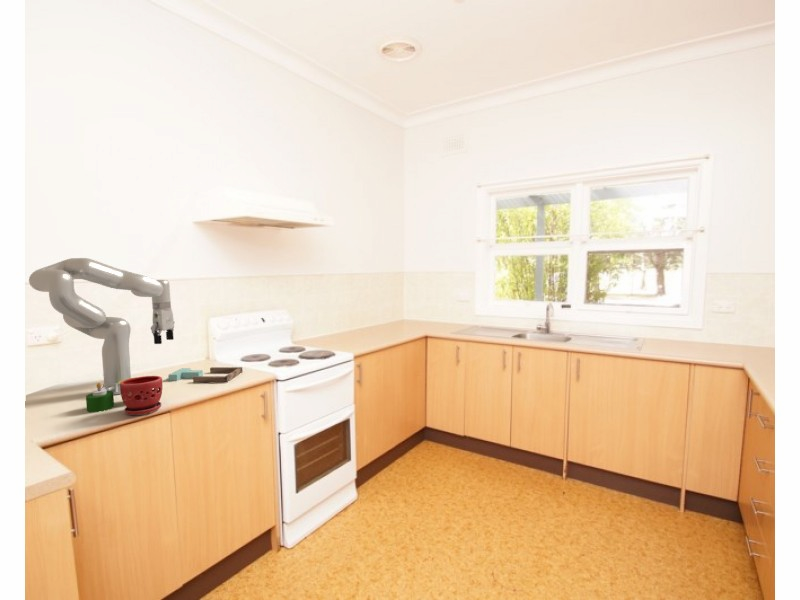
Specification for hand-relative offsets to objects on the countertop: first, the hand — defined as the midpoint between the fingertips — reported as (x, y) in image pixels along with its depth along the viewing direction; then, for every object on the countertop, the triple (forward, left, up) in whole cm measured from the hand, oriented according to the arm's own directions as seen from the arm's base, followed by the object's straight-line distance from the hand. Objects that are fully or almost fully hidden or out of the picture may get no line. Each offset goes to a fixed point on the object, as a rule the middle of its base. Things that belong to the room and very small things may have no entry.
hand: (164, 341), depth 194 cm
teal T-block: (0, -11, -17) cm, 20 cm away
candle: (-42, 0, -18) cm, 46 cm away
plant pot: (-45, -18, -18) cm, 52 cm away
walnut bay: (0, -25, -17) cm, 30 cm away
